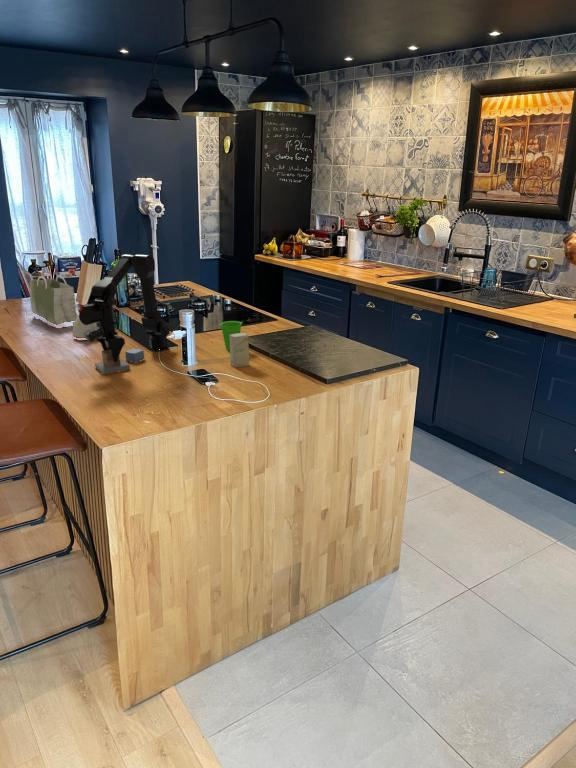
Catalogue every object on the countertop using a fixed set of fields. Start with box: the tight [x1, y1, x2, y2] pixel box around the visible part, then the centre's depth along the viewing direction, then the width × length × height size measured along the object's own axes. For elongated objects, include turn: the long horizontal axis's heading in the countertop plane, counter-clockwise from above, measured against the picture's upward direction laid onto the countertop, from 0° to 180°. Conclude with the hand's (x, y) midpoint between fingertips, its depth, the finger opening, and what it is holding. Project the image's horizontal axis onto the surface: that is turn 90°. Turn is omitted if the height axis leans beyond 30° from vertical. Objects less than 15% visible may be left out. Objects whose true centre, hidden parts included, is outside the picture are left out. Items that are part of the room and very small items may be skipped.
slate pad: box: [94, 357, 131, 375], centre depth 222 cm, size 10×10×2 cm
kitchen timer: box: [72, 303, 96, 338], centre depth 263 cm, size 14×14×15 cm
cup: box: [219, 320, 243, 352], centre depth 241 cm, size 9×9×11 cm
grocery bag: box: [28, 274, 79, 325], centre depth 291 cm, size 32×14×23 cm, turn 42°
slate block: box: [124, 348, 145, 363], centre depth 231 cm, size 5×5×4 cm
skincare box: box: [229, 332, 250, 368], centre depth 221 cm, size 6×4×12 cm
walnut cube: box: [101, 350, 121, 367], centre depth 220 cm, size 5×5×5 cm
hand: (111, 358), depth 220 cm, fingers open, 9 cm apart
